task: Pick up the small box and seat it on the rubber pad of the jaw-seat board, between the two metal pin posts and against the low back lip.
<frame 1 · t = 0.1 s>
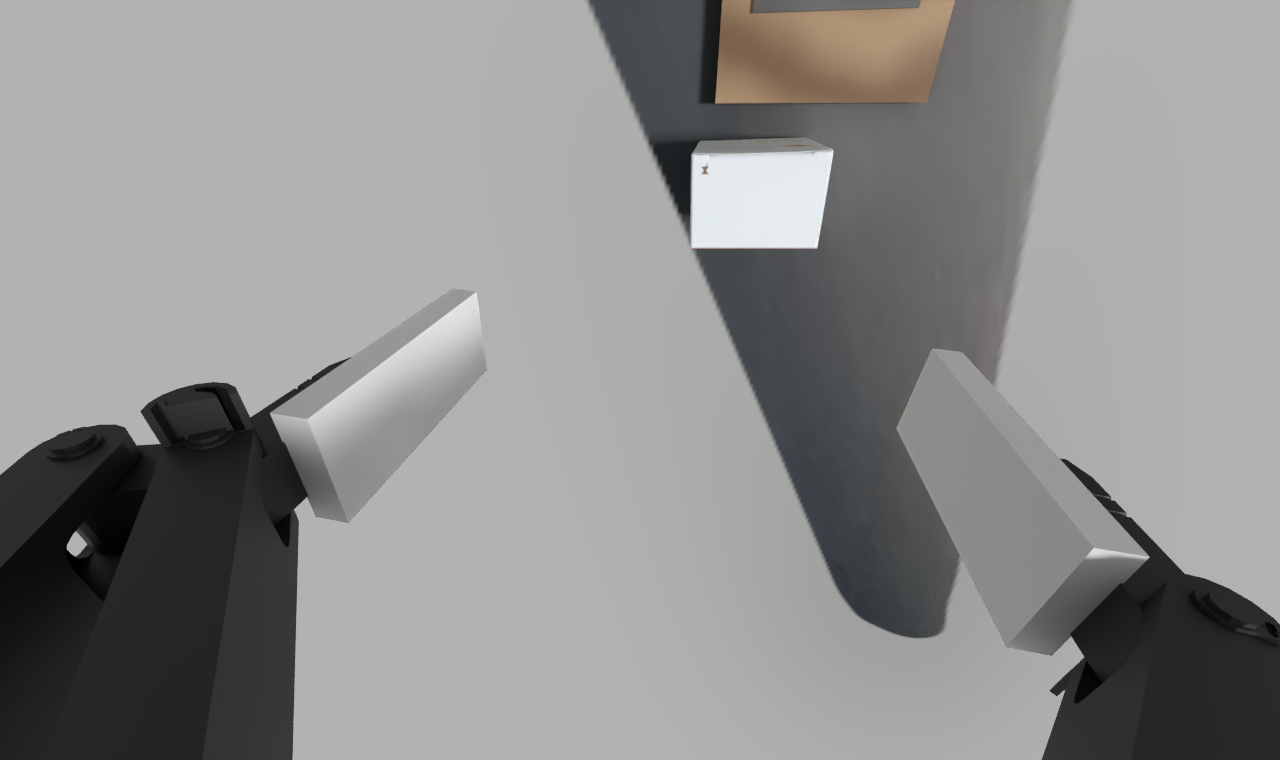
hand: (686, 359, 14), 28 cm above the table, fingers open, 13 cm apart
small box: (749, 177, 36), on the table
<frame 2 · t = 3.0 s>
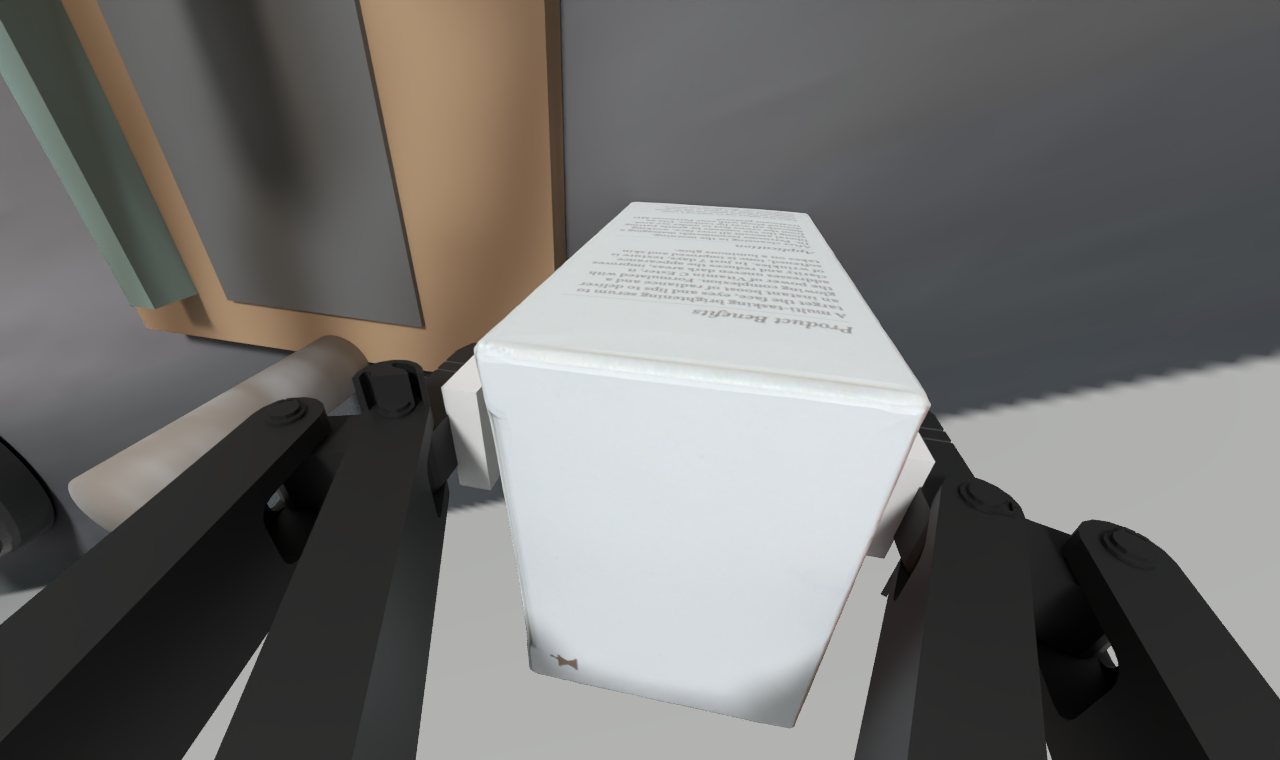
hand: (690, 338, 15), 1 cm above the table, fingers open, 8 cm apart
small box: (705, 319, 16), on the table
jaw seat: (308, 161, 16), on the table
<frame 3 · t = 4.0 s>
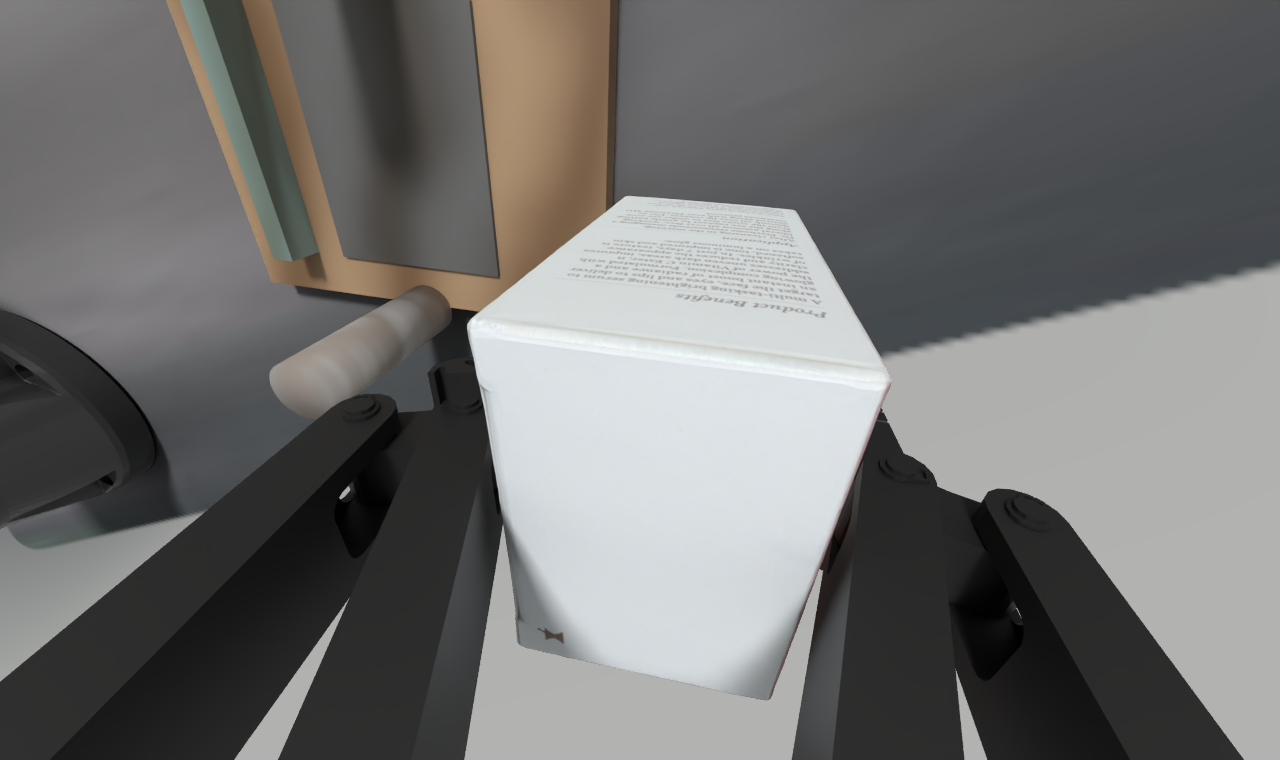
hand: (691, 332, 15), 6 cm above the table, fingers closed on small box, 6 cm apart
small box: (696, 312, 17), point 5 cm above the table, touching gripper
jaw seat: (416, 146, 20), on the table
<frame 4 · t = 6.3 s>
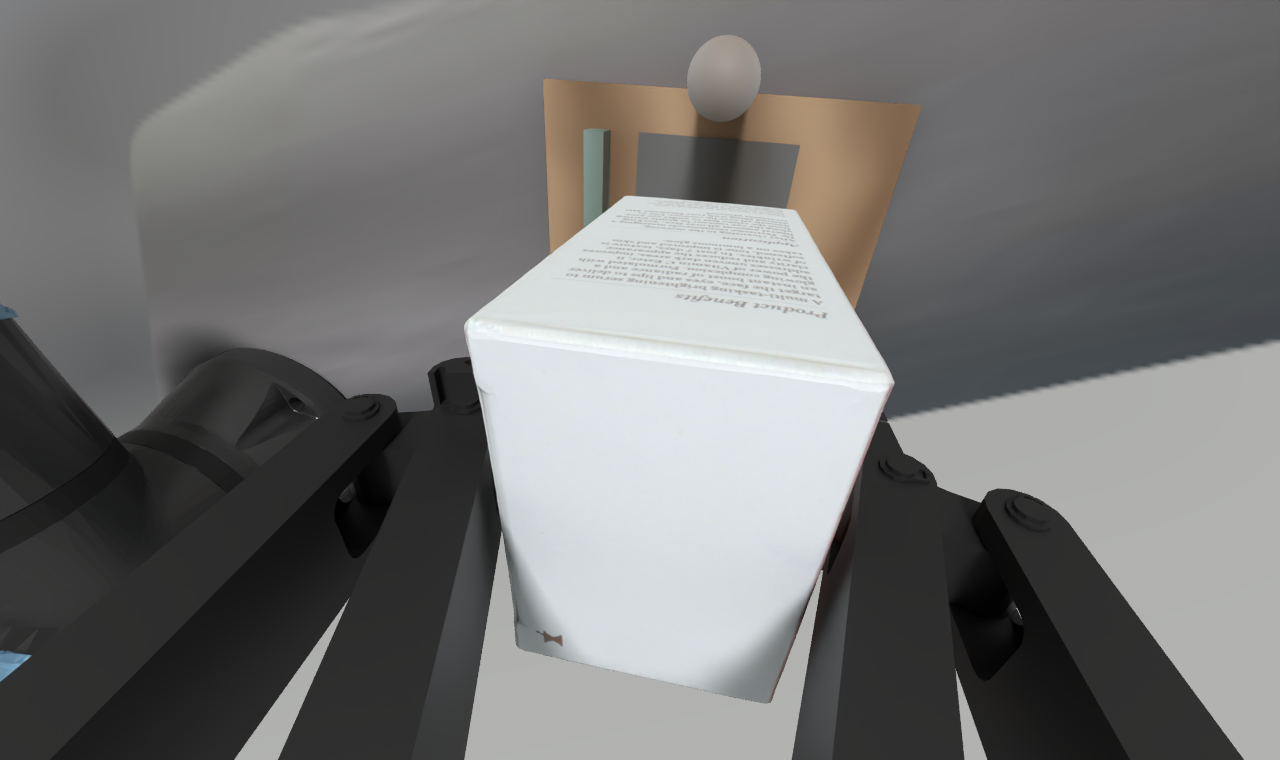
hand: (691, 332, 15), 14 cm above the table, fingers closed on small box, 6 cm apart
small box: (696, 312, 17), point 12 cm above the table, touching gripper
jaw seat: (705, 233, 27), on the table
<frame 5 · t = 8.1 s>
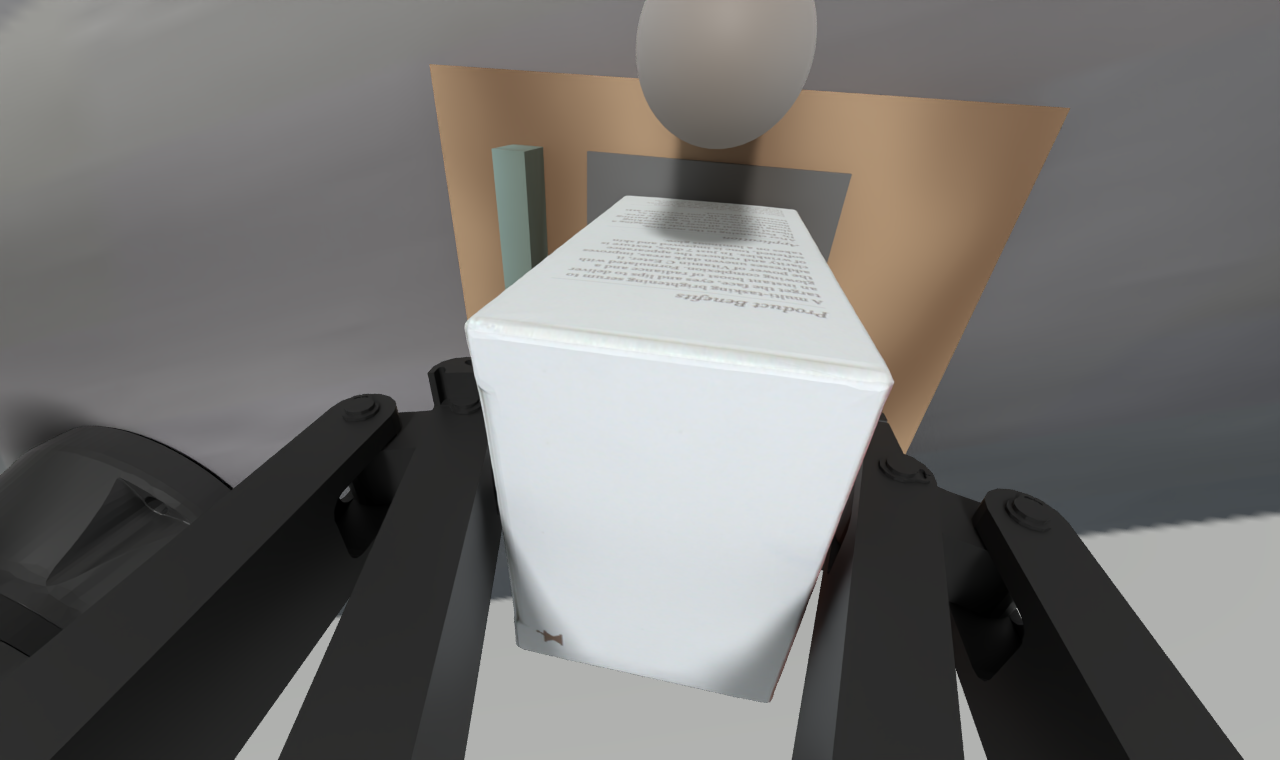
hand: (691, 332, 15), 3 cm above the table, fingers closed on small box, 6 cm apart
small box: (696, 312, 17), point 1 cm above the table, touching gripper
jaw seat: (697, 300, 18), on the table
when the fingers open (3 cm above the table, at t = 8.8 s): small box stays where it is, resting on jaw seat.
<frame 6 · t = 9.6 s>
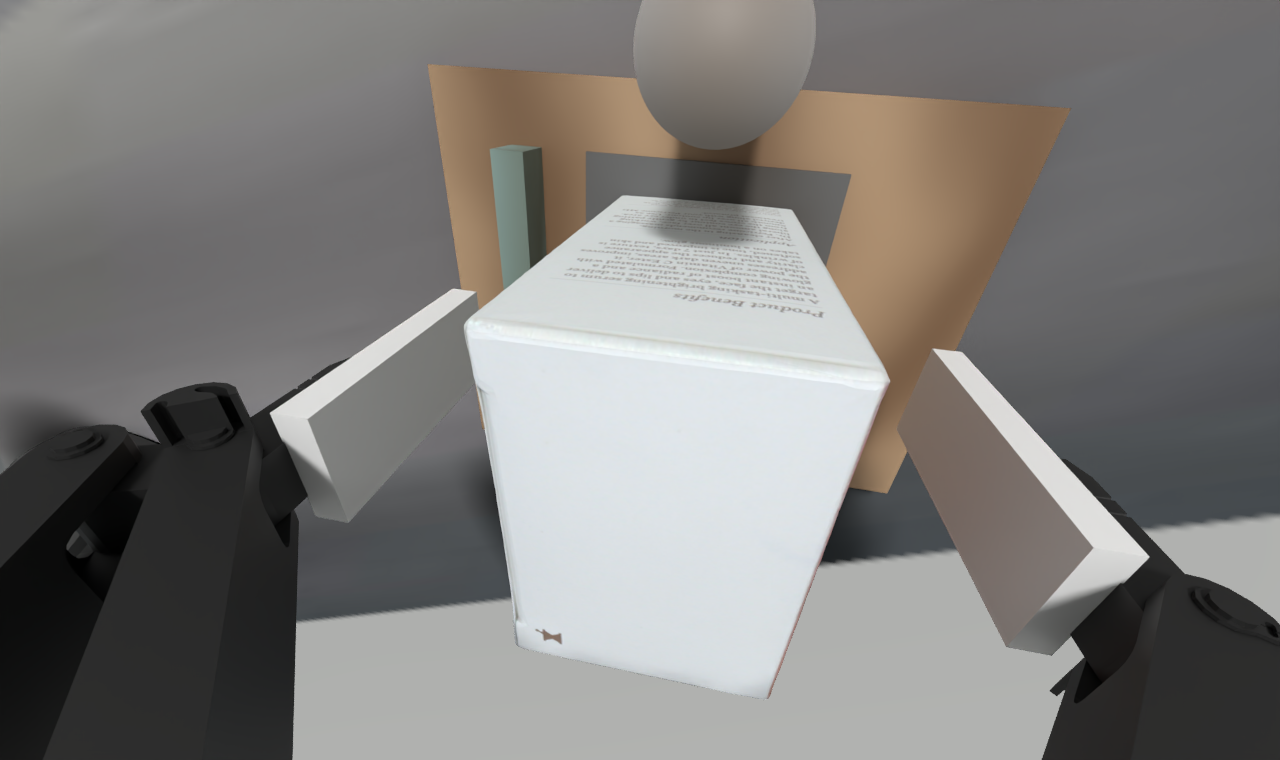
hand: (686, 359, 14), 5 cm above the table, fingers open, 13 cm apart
small box: (693, 312, 17), point 1 cm above the table, touching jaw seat
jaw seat: (696, 301, 18), on the table
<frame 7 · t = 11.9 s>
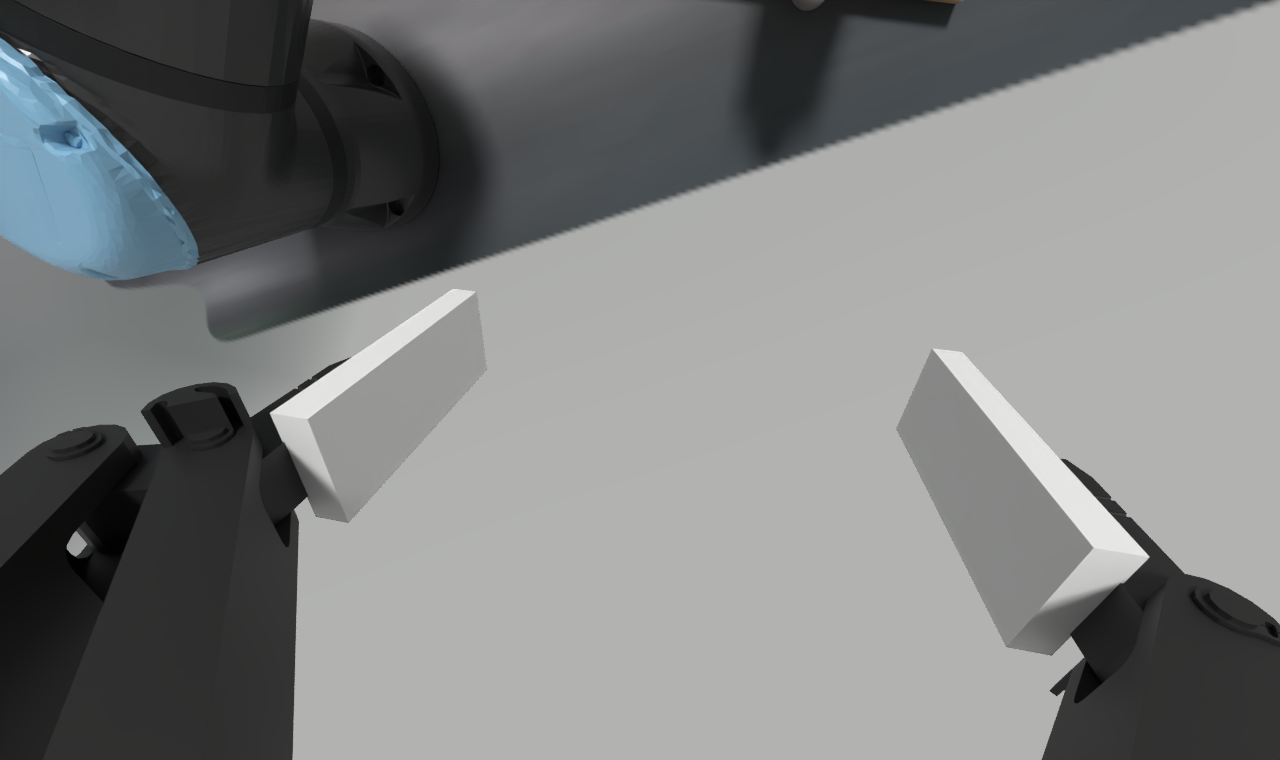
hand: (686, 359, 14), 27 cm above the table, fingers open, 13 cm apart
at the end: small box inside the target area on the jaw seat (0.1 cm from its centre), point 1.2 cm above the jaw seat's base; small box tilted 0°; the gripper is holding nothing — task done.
